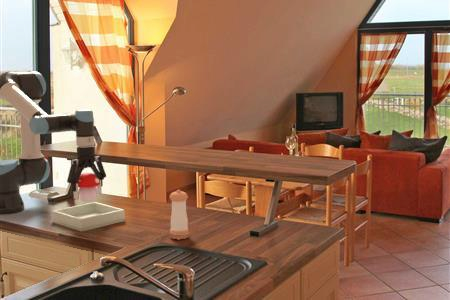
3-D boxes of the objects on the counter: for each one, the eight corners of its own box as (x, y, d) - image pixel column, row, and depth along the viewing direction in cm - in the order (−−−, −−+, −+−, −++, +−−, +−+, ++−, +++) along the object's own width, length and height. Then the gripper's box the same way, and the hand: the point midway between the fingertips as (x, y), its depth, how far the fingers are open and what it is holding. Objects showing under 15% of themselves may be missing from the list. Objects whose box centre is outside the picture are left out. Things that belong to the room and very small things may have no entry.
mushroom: (104, 197, 256) (103, 170, 254) (96, 202, 245) (95, 174, 243) (80, 196, 257) (79, 170, 255) (71, 202, 246) (70, 174, 244)
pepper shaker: (181, 241, 222) (180, 192, 220) (166, 238, 226) (165, 190, 223) (192, 236, 228) (191, 189, 226) (177, 234, 232) (176, 187, 229)
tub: (52, 222, 252) (52, 210, 251) (95, 212, 268) (94, 201, 267) (81, 231, 237) (80, 219, 236) (124, 220, 253) (124, 209, 252)
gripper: (66, 149, 236) (69, 202, 240) (113, 144, 253) (115, 193, 256) (56, 148, 242) (59, 199, 245) (103, 142, 258) (105, 190, 262)
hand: (87, 196), depth 251 cm, fingers closed on mushroom, 11 cm apart
